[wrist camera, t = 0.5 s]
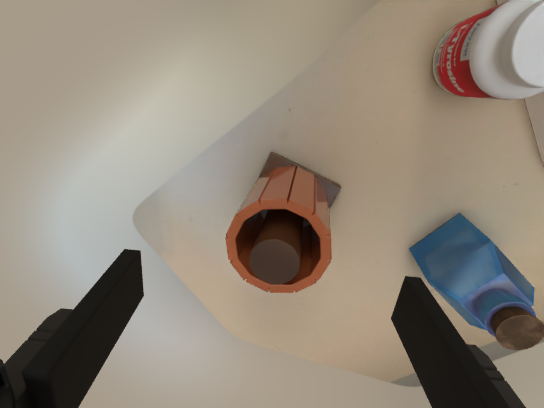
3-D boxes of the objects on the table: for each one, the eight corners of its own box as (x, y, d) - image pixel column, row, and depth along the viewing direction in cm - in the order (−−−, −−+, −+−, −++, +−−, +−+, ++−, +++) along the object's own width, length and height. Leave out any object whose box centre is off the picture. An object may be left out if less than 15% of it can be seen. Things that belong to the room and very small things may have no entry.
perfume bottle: (408, 248, 34) (454, 327, 23) (459, 213, 32) (537, 280, 21) (444, 285, 35) (504, 378, 24) (496, 252, 33) (589, 338, 22)
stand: (271, 151, 32) (245, 188, 20) (340, 185, 32) (354, 242, 20) (242, 214, 35) (203, 280, 23) (305, 244, 35) (299, 326, 23)
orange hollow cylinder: (270, 152, 31) (251, 180, 22) (341, 188, 31) (351, 229, 22) (240, 217, 34) (211, 265, 25) (304, 249, 34) (300, 308, 25)
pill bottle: (430, 26, 26) (503, -14, 16) (510, 11, 25) (642, -41, 15) (429, 101, 29) (493, 109, 18) (503, 91, 27) (615, 92, 17)
